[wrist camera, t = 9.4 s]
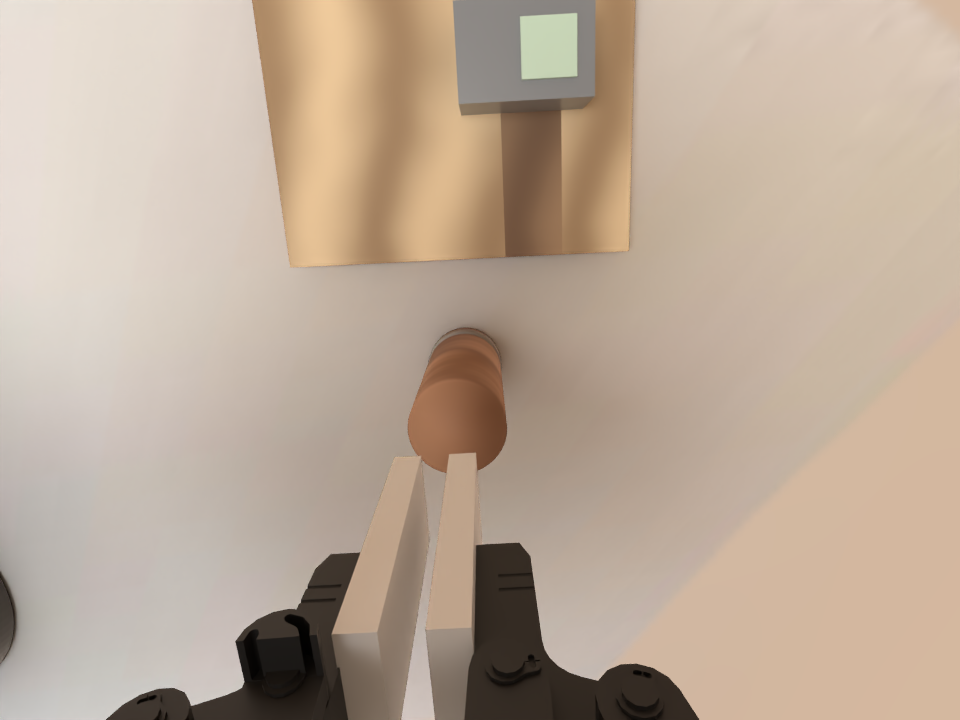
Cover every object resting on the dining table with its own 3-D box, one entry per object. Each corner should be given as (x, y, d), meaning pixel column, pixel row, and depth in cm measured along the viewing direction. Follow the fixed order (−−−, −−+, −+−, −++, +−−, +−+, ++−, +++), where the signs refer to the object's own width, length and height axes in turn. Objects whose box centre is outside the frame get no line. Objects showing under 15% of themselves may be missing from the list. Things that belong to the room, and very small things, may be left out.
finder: (461, 115, 26) (458, 103, 23) (456, 24, 25) (452, -2, 22) (582, 108, 26) (595, 95, 23) (582, 16, 25) (596, -10, 22)
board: (297, 265, 30) (290, 267, 29) (250, -75, 25) (239, -89, 24) (623, 249, 29) (628, 250, 28) (631, -99, 25) (638, -114, 24)
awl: (433, 396, 32) (410, 477, 22) (428, 328, 31) (402, 383, 21) (502, 393, 32) (509, 473, 22) (499, 325, 31) (506, 378, 21)
